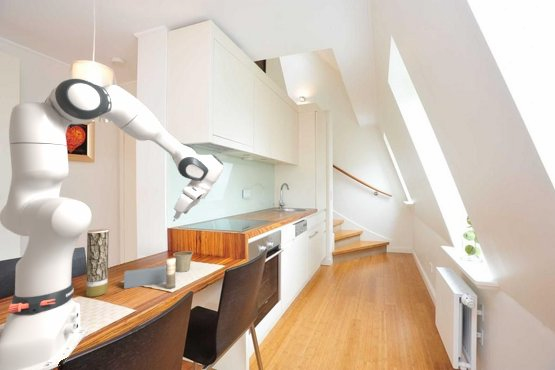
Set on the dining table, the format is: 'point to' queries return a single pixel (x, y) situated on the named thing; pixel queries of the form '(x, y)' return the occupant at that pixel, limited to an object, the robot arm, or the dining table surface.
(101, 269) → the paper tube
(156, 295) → the dining table surface
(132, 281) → the grey rectangular block
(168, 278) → the dowel
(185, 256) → the flower pot
